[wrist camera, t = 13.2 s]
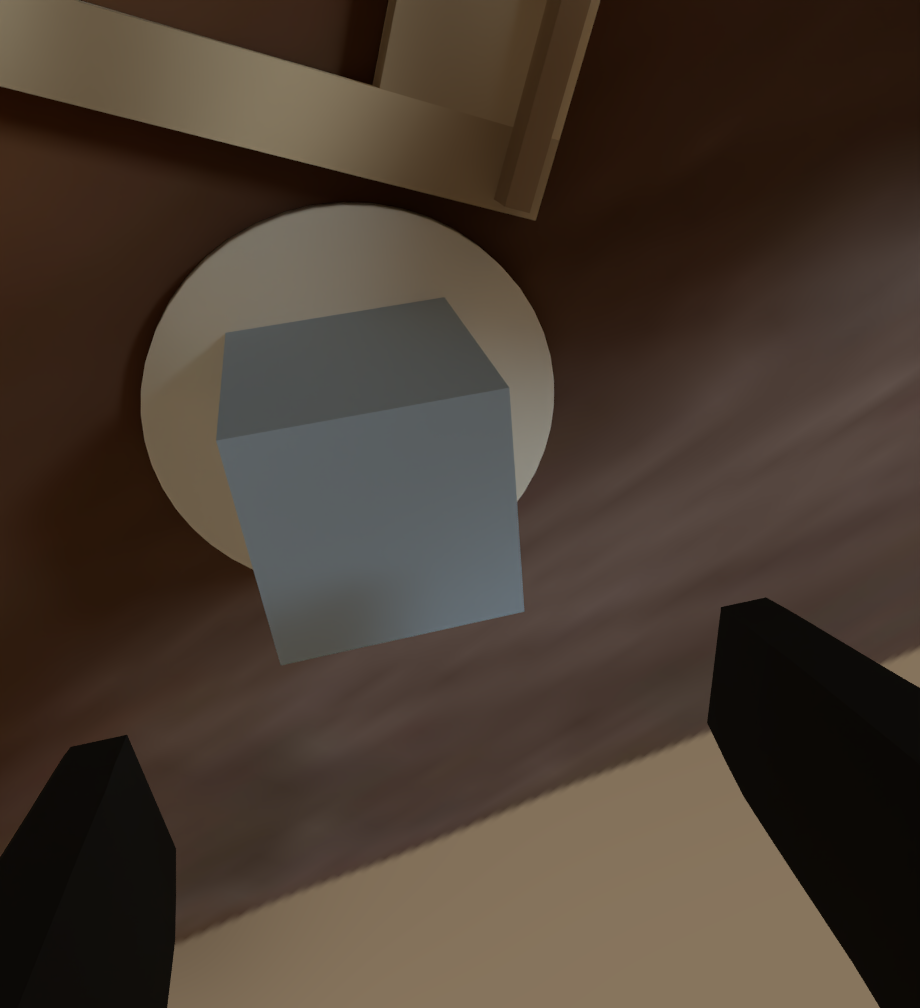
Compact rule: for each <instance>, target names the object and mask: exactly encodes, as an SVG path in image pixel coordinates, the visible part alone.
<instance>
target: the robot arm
mask: <svg viewBox="0 0 920 1008" xmlns="http://www.w3.org/2000/svg"><path fill="white" fill-rule="evenodd" d="M707 723H708V725H709V727H710V729H711V731H712V734H713V736H714V738H715V740H716V742H717V744H718V746H719V748H720V750H721V752H722V755H723V757H724V759H725V761H726V763H727V765H728V767H729V769H730V771H731V772H732V774H733V777H734V778H735V780H736V782H737V784H738V786H739V788H740V790H741V792H742V794H743V796H744V797H745V799H746V801H747V802H748V804H749V805H750V807H751V809H752V810H753V812H754V813H755V815H756V816H757V818H758V819H759V821H760V823H761V824H762V826H763V827H764V829H765V830H766V832H767V833H768V835H769V836H770V838H771V840H772V841H773V843H774V844H775V846H776V847H777V849H778V850H779V852H780V853H781V855H782V856H783V858H784V859H785V861H786V862H787V864H788V865H789V867H790V869H791V870H792V872H793V873H794V875H795V876H796V878H797V879H798V881H799V882H800V884H801V885H802V887H803V888H804V890H805V891H806V893H807V894H808V896H809V897H810V899H811V900H812V902H813V903H814V905H815V906H816V908H817V909H818V911H819V912H820V914H821V915H822V917H823V918H824V920H825V922H826V923H827V924H828V926H829V927H830V929H831V931H832V932H833V934H834V935H835V937H836V938H837V940H838V941H839V943H840V944H841V946H842V947H843V949H844V950H845V952H846V953H847V955H848V956H849V958H850V959H851V961H852V962H853V964H854V966H855V967H856V969H857V971H858V972H859V974H860V975H861V977H862V978H863V980H864V982H865V983H866V985H867V987H868V988H869V990H870V992H871V993H872V995H873V997H874V998H875V1000H876V1002H877V1003H878V1005H879V1007H880V1008H920V688H919V687H917V686H916V685H914V684H912V683H910V682H908V681H907V680H905V679H903V678H902V677H900V676H898V675H896V674H895V673H893V672H892V671H890V670H888V669H886V668H885V667H883V666H881V665H880V664H878V663H876V662H875V661H873V660H871V659H870V658H868V657H866V656H865V655H863V654H861V653H860V652H858V651H856V650H855V649H853V648H851V647H850V646H848V645H846V644H845V643H843V642H841V641H840V640H838V639H836V638H835V637H833V636H831V635H830V634H828V633H826V632H825V631H823V630H821V629H820V628H818V627H816V626H815V625H813V624H811V623H810V622H808V621H806V620H804V619H803V618H801V617H799V616H798V615H796V614H794V613H793V612H791V611H789V610H787V609H786V608H784V607H782V606H780V605H779V604H777V603H775V602H773V601H771V600H770V599H768V598H762V599H757V600H752V601H748V602H743V603H738V604H734V605H729V606H724V607H721V613H720V621H719V630H718V638H717V646H716V654H715V663H714V671H713V679H712V688H711V696H710V704H709V712H708V721H707ZM175 915H176V848H175V846H174V843H173V841H172V839H171V836H170V834H169V832H168V829H167V827H166V825H165V822H164V820H163V818H162V815H161V813H160V811H159V808H158V806H157V804H156V801H155V799H154V797H153V794H152V792H151V790H150V787H149V785H148V783H147V780H146V778H145V776H144V773H143V771H142V769H141V766H140V764H139V762H138V759H137V757H136V755H135V752H134V750H133V748H132V745H131V743H130V741H129V738H128V736H127V735H124V736H120V737H115V738H110V739H106V740H101V741H96V742H92V743H87V744H82V745H78V746H73V747H70V749H69V750H68V751H67V753H66V754H65V755H64V756H63V758H62V760H61V761H60V763H59V764H58V766H57V767H56V769H55V771H54V772H53V774H52V775H51V777H50V779H49V780H48V782H47V783H46V785H45V787H44V788H43V790H42V792H41V793H40V795H39V796H38V798H37V800H36V801H35V803H34V804H33V806H32V808H31V809H30V811H29V813H28V814H27V816H26V817H25V819H24V821H23V822H22V824H21V825H20V827H19V829H18V830H17V832H16V833H15V835H14V836H13V838H12V840H11V841H10V843H9V844H8V846H7V848H6V849H5V851H4V852H3V854H2V855H1V857H0V1008H167V1004H168V995H169V987H170V978H171V971H172V962H173V953H174V944H175Z"/></svg>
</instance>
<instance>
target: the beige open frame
mask: <svg viewBox="0 0 920 1008" xmlns="http://www.w3.org/2000/svg"><path fill="white" fill-rule="evenodd" d="M599 4H600V0H389V1H388V6H387V11H386V17H385V22H384V27H383V32H382V38H381V43H380V48H379V53H378V59H377V64H376V69H375V74H374V80H373V85H370V84H367V83H363V82H360V81H356V80H353V79H349V78H346V77H343V76H339V75H336V74H332V73H329V72H325V71H322V70H318V69H315V68H311V67H308V66H305V65H301V64H298V63H294V62H291V61H287V60H284V59H280V58H277V57H273V56H270V55H267V54H263V53H260V52H256V51H253V50H249V49H246V48H242V47H239V46H235V45H232V44H229V43H225V42H222V41H218V40H215V39H211V38H208V37H204V36H201V35H197V34H194V33H191V32H187V31H184V30H180V29H177V28H173V27H170V26H166V25H163V24H159V23H156V22H153V21H149V20H146V19H142V18H139V17H135V16H132V15H128V14H125V13H121V12H118V11H115V10H111V9H108V8H104V7H101V6H97V5H94V4H90V3H87V2H84V1H80V0H0V86H1V87H5V88H9V89H13V90H17V91H21V92H25V93H29V94H33V95H37V96H41V97H45V98H49V99H53V100H57V101H61V102H65V103H68V104H72V105H76V106H80V107H84V108H88V109H92V110H96V111H100V112H104V113H108V114H112V115H116V116H120V117H124V118H128V119H132V120H136V121H140V122H144V123H148V124H152V125H156V126H160V127H164V128H168V129H172V130H176V131H180V132H184V133H188V134H192V135H196V136H200V137H204V138H208V139H212V140H216V141H220V142H224V143H228V144H232V145H236V146H240V147H244V148H248V149H252V150H256V151H260V152H264V153H268V154H272V155H276V156H280V157H283V158H287V159H291V160H295V161H299V162H303V163H307V164H311V165H315V166H319V167H323V168H327V169H331V170H335V171H339V172H343V173H347V174H351V175H355V176H359V177H363V178H367V179H371V180H375V181H379V182H383V183H387V184H391V185H395V186H399V187H403V188H407V189H411V190H415V191H419V192H423V193H427V194H431V195H435V196H439V197H443V198H447V199H451V200H455V201H459V202H463V203H467V204H471V205H475V206H479V207H483V208H487V209H491V210H495V211H498V212H502V213H506V214H510V215H514V216H518V217H522V218H526V219H530V220H534V221H536V218H537V215H538V211H539V208H540V205H541V201H542V198H543V194H544V191H545V187H546V184H547V181H548V177H549V174H550V170H551V167H552V164H553V160H554V157H555V153H556V150H557V147H558V143H559V140H560V136H561V133H562V130H563V126H564V123H565V119H566V116H567V113H568V109H569V106H570V102H571V99H572V96H573V92H574V89H575V85H576V82H577V78H578V75H579V72H580V68H581V65H582V61H583V58H584V55H585V51H586V48H587V44H588V41H589V38H590V34H591V31H592V27H593V24H594V21H595V17H596V14H597V10H598V7H599Z"/></svg>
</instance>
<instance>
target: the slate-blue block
mask: <svg viewBox="0 0 920 1008" xmlns="http://www.w3.org/2000/svg"><path fill="white" fill-rule="evenodd" d="M216 442H217V446H218V449H219V453H220V456H221V460H222V463H223V466H224V470H225V473H226V477H227V480H228V484H229V487H230V491H231V494H232V498H233V501H234V505H235V508H236V512H237V515H238V519H239V522H240V526H241V529H242V533H243V536H244V539H245V543H246V546H247V550H248V553H249V557H250V560H251V564H252V567H253V571H254V574H255V578H256V581H257V585H258V588H259V592H260V595H261V599H262V602H263V605H264V609H265V612H266V616H267V619H268V623H269V626H270V630H271V633H272V637H273V640H274V644H275V647H276V651H277V654H278V658H279V661H280V665H285V664H290V663H294V662H299V661H303V660H308V659H312V658H317V657H321V656H326V655H330V654H335V653H339V652H344V651H348V650H353V649H357V648H362V647H366V646H371V645H376V644H380V643H385V642H389V641H394V640H398V639H403V638H407V637H412V636H416V635H421V634H425V633H430V632H434V631H439V630H443V629H448V628H452V627H457V626H461V625H466V624H470V623H475V622H479V621H484V620H488V619H493V618H497V617H502V616H506V615H511V614H515V613H520V612H524V600H523V585H522V570H521V555H520V540H519V525H518V510H517V495H516V480H515V465H514V450H513V435H512V420H511V405H510V390H509V386H508V385H507V384H506V382H505V381H504V380H503V378H502V377H501V375H500V374H499V373H498V371H497V370H496V368H495V367H494V366H493V364H492V363H491V361H490V360H489V359H488V357H487V356H486V354H485V353H484V352H483V350H482V349H481V347H480V346H479V345H478V343H477V342H476V340H475V339H474V338H473V336H472V335H471V334H470V332H469V331H468V329H467V328H466V327H465V325H464V324H463V322H462V321H461V320H460V318H459V317H458V315H457V314H456V313H455V311H454V310H453V308H452V307H451V306H450V304H449V303H448V301H447V300H446V299H445V297H443V298H436V299H430V300H424V301H418V302H412V303H406V304H400V305H393V306H387V307H381V308H375V309H369V310H363V311H357V312H350V313H344V314H338V315H332V316H326V317H320V318H313V319H307V320H301V321H295V322H289V323H283V324H277V325H270V326H264V327H258V328H252V329H246V330H240V331H234V332H227V333H225V344H224V355H223V367H222V378H221V390H220V401H219V413H218V424H217V436H216Z"/></svg>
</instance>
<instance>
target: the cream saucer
mask: <svg viewBox="0 0 920 1008" xmlns="http://www.w3.org/2000/svg"><path fill="white" fill-rule="evenodd" d="M443 297H445V299H446V300H447V301H448V303H449V304H450V306H451V307H452V308H453V310H454V311H455V313H456V314H457V315H458V317H459V318H460V320H461V321H462V322H463V324H464V325H465V327H466V328H467V329H468V331H469V332H470V334H471V335H472V336H473V338H474V339H475V340H476V342H477V343H478V345H479V346H480V347H481V349H482V350H483V352H484V353H485V354H486V356H487V357H488V359H489V360H490V361H491V363H492V364H493V366H494V367H495V368H496V370H497V371H498V373H499V374H500V375H501V377H502V378H503V380H504V381H505V382H506V384H507V385H508V386H509V390H510V405H511V420H512V435H513V450H514V465H515V480H516V495H517V501H518V500H519V498H520V497H521V496H522V494H523V493H524V492H525V490H526V488H527V486H528V484H529V483H530V481H531V479H532V477H533V476H534V474H535V472H536V470H537V467H538V465H539V463H540V460H541V458H542V455H543V453H544V450H545V447H546V443H547V440H548V436H549V432H550V429H551V422H552V415H553V407H554V377H553V370H552V363H551V356H550V353H549V349H548V345H547V342H546V338H545V335H544V332H543V330H542V327H541V325H540V323H539V321H538V318H537V316H536V314H535V312H534V310H533V308H532V306H531V305H530V303H529V302H528V300H527V298H526V297H525V295H524V294H523V292H522V290H521V289H520V288H519V286H518V285H517V284H516V283H515V282H514V280H513V279H512V278H511V277H510V276H509V275H508V273H507V272H506V271H505V270H504V269H503V268H502V267H501V266H500V265H499V264H498V263H497V262H496V261H495V260H494V259H493V258H492V257H491V256H489V255H488V254H487V253H486V252H485V251H484V250H483V249H482V248H480V247H479V246H478V245H477V244H476V243H474V242H473V241H471V240H470V239H468V238H467V237H465V236H464V235H462V234H461V233H459V232H458V231H456V230H455V229H453V228H451V227H449V226H447V225H445V224H443V223H441V222H439V221H437V220H435V219H432V218H430V217H428V216H425V215H422V214H419V213H416V212H413V211H410V210H406V209H403V208H400V207H394V206H388V205H382V204H377V203H367V202H334V203H325V204H315V205H309V206H305V207H301V208H297V209H293V210H289V211H285V212H282V213H279V214H277V215H274V216H272V217H269V218H267V219H264V220H262V221H259V222H257V223H255V224H253V225H251V226H249V227H248V228H246V229H244V230H242V231H241V232H239V233H237V234H236V235H234V236H232V237H230V238H229V239H227V240H226V241H225V242H224V243H222V244H221V245H220V246H218V247H217V248H216V249H215V250H213V251H212V252H211V253H210V254H208V255H207V256H206V257H205V258H204V259H203V260H202V261H201V262H200V263H199V264H198V265H197V266H196V267H195V268H194V269H193V270H192V271H191V273H190V274H189V275H188V276H187V277H186V278H185V279H184V281H183V282H182V284H181V285H180V286H179V288H178V289H177V291H176V292H175V294H174V295H173V296H172V298H171V299H170V301H169V303H168V305H167V307H166V309H165V311H164V313H163V315H162V317H161V319H160V321H159V323H158V325H157V327H156V330H155V333H154V336H153V339H152V343H151V346H150V349H149V352H148V355H147V358H146V361H145V367H144V373H143V379H142V385H141V420H142V427H143V434H144V441H145V444H146V448H147V451H148V454H149V458H150V461H151V464H152V467H153V469H154V471H155V473H156V476H157V478H158V480H159V482H160V484H161V486H162V488H163V490H164V491H165V493H166V495H167V496H168V498H169V499H170V501H171V502H172V504H173V505H174V507H175V508H176V510H177V511H178V512H179V513H180V514H181V516H182V517H183V518H184V519H185V520H186V521H187V523H188V524H189V525H190V526H191V527H192V528H193V529H194V530H195V531H196V532H197V533H198V534H199V535H201V536H202V537H203V538H204V539H205V540H206V541H207V542H208V543H210V544H211V545H212V546H214V547H215V548H217V549H218V550H219V551H221V552H222V553H224V554H225V555H227V556H228V557H230V558H231V559H233V560H235V561H237V562H239V563H241V564H243V565H245V566H247V567H249V568H250V569H252V570H253V567H252V564H251V560H250V557H249V553H248V550H247V546H246V543H245V539H244V536H243V533H242V529H241V526H240V522H239V519H238V515H237V512H236V508H235V505H234V501H233V498H232V494H231V491H230V487H229V484H228V480H227V477H226V473H225V470H224V466H223V463H222V460H221V456H220V453H219V449H218V446H217V442H216V436H217V424H218V413H219V401H220V390H221V378H222V367H223V355H224V344H225V333H227V332H234V331H240V330H246V329H252V328H258V327H264V326H270V325H277V324H283V323H289V322H295V321H301V320H307V319H313V318H320V317H326V316H332V315H338V314H344V313H350V312H357V311H363V310H369V309H375V308H381V307H387V306H393V305H400V304H406V303H412V302H418V301H424V300H430V299H436V298H443Z"/></svg>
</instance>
